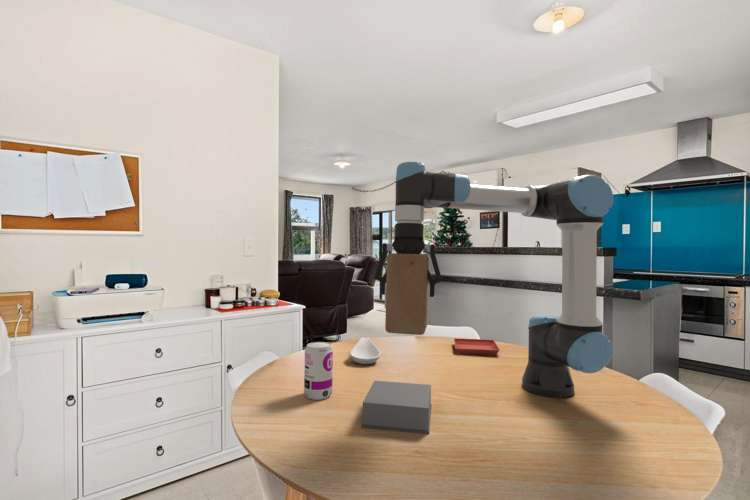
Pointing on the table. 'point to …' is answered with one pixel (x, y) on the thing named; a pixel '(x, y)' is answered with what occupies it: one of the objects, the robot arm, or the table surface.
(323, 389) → the supplement can
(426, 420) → the charcoal base block
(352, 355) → the spoon rest
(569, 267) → the robot arm
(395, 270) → the wooden block
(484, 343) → the plant saucer
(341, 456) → the table surface
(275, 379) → the table surface
